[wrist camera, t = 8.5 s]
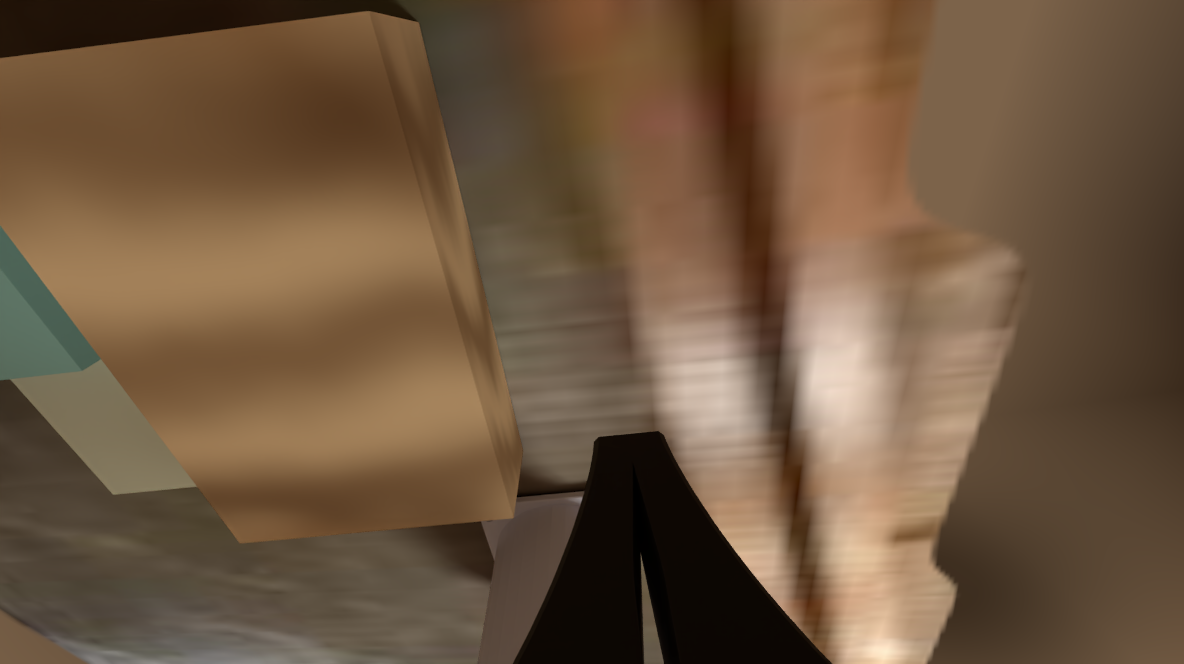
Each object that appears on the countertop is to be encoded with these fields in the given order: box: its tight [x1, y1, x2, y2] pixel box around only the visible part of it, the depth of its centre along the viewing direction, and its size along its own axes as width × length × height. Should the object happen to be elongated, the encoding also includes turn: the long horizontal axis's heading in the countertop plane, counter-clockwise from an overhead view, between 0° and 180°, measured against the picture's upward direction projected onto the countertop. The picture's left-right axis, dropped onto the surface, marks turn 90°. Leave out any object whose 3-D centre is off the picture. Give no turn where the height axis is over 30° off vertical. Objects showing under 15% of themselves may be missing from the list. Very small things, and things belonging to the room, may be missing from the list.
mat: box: [10, 360, 197, 495], centre depth 19 cm, size 18×8×1 cm, turn 6°
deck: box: [0, 11, 523, 543], centre depth 18 cm, size 18×12×4 cm, turn 6°
